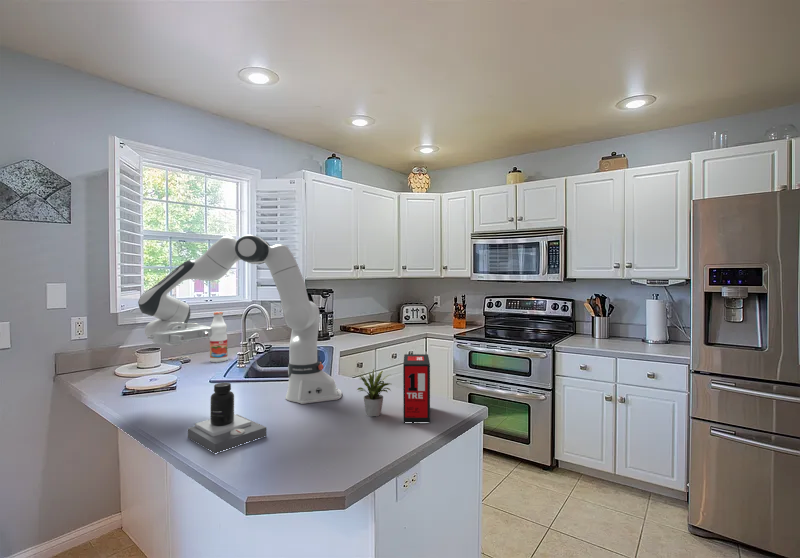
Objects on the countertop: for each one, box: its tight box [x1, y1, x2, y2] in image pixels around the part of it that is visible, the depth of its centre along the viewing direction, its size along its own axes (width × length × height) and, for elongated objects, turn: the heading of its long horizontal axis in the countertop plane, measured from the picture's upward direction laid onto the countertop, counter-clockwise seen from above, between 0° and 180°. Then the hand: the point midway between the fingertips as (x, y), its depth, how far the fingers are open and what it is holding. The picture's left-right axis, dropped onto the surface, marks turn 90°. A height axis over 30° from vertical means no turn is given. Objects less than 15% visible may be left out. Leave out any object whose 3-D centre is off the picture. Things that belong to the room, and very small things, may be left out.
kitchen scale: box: [187, 413, 267, 454], centre depth 126 cm, size 16×18×4 cm
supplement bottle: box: [209, 382, 235, 426], centre depth 128 cm, size 7×7×12 cm
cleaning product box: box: [402, 353, 431, 424], centre depth 146 cm, size 16×9×20 cm, turn 178°
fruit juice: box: [209, 311, 229, 363], centre depth 236 cm, size 9×9×28 cm
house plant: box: [351, 369, 392, 417], centre depth 145 cm, size 14×14×16 cm
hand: (195, 336), depth 147 cm, fingers open, 8 cm apart
